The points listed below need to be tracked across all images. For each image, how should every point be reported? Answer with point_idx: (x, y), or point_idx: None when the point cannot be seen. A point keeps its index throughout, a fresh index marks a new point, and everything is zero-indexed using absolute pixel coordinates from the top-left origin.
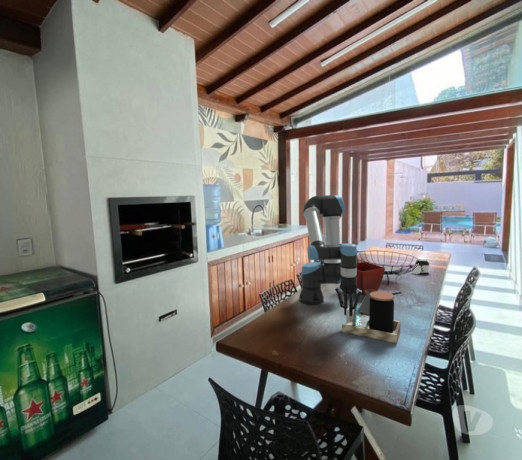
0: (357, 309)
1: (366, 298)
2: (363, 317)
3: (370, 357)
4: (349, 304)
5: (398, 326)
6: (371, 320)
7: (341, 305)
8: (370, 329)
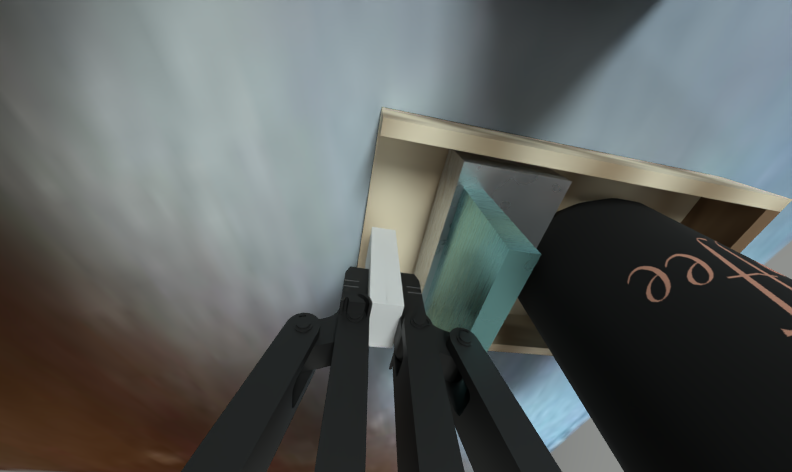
0: None
1: None
2: (508, 207)
3: None
4: (397, 414)
5: None
6: (552, 353)
7: (297, 378)
8: (514, 350)
